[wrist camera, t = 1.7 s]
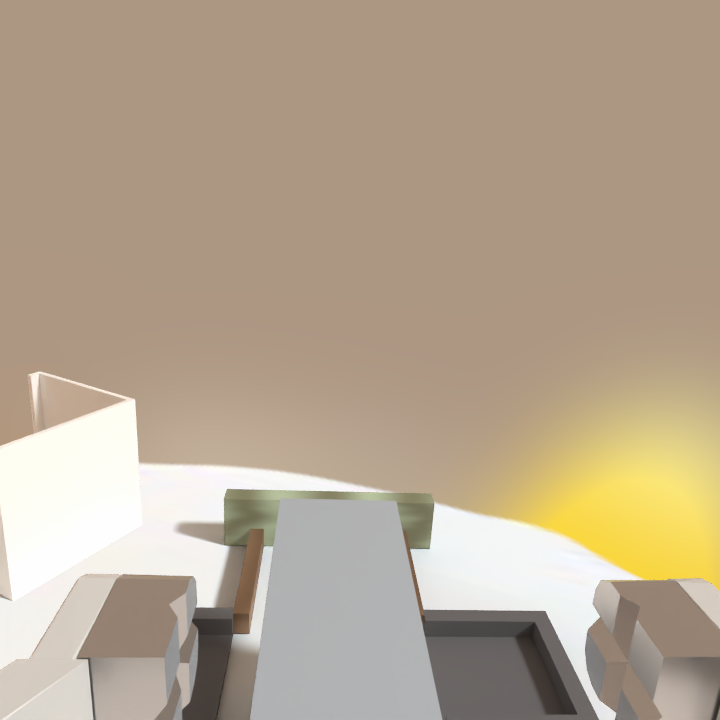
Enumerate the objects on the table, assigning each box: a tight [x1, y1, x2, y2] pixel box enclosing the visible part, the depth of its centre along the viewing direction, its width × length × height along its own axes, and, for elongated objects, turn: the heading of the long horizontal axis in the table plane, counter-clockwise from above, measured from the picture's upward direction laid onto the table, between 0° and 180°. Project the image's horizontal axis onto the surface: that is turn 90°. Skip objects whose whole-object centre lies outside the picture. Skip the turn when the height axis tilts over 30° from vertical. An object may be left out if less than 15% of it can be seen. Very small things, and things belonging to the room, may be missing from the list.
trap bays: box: [182, 608, 599, 720], centre depth 35 cm, size 28×9×2 cm, turn 93°
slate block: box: [250, 498, 442, 720], centre depth 27 cm, size 6×14×12 cm, turn 3°
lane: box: [224, 489, 434, 633], centre depth 36 cm, size 16×27×4 cm, turn 3°
